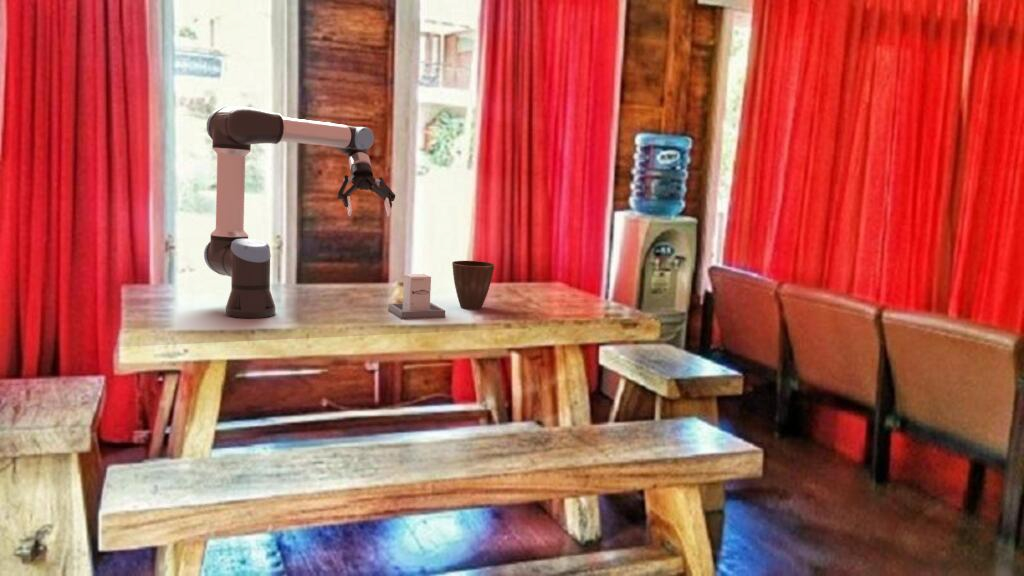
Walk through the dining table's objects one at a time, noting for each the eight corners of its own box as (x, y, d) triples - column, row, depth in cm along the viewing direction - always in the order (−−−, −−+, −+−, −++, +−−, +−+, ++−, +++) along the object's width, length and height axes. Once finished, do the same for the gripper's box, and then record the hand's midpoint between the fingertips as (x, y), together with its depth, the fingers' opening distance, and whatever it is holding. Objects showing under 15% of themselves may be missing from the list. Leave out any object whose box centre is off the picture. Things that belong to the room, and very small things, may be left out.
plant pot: (484, 303, 296) (486, 260, 293) (498, 311, 282) (500, 266, 280) (445, 304, 291) (447, 260, 288) (457, 312, 277) (459, 266, 274)
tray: (401, 319, 260) (401, 312, 260) (388, 310, 273) (388, 303, 273) (445, 317, 266) (445, 310, 266) (430, 309, 280) (430, 302, 279)
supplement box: (409, 314, 265) (410, 276, 263) (402, 310, 271) (403, 273, 270) (430, 314, 268) (431, 276, 266) (422, 309, 275) (424, 273, 273)
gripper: (392, 177, 296) (402, 221, 285) (324, 174, 286) (331, 219, 274) (397, 163, 290) (407, 207, 279) (327, 159, 280) (335, 205, 269)
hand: (370, 213), depth 277 cm, fingers open, 13 cm apart
